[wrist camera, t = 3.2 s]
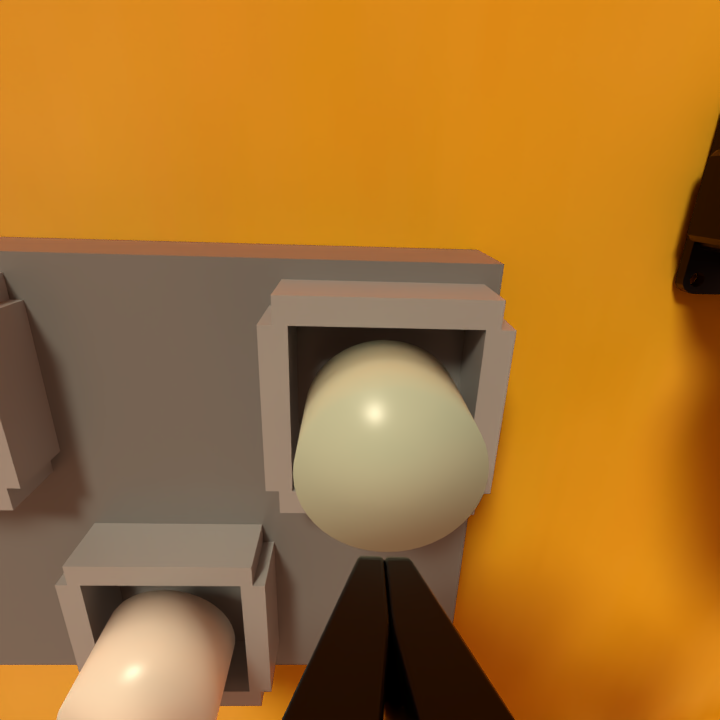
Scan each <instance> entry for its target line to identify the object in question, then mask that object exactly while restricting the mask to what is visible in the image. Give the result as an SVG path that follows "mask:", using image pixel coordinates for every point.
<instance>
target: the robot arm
mask: <svg viewBox="0 0 720 720" xmlns="http://www.w3.org/2000/svg"><path fill="white" fill-rule="evenodd" d="M695 273H696V274H697V276H696V279H695V281H694V282H693V283H692V284H690V279H691V277H692V276H693V275H694V274H695ZM675 283H676V286H677V287H678V288H679V289H680V290H682V291H685V292H688V293H692V294H720V122H719V125H718V129H717V133H716V136H715V140H714V143H713V147H712V150H711V154H710V157H709V158H708V161H707V164H706V168H705V171H704V175H703V179H702V182H701V186H700V189H699V193H698V196H697V200H696V204H695V207H694V211H693V214H692V218H691V221H690V225H689V229H688V236H687V239H686V243H685V246H684V250H683V254H682V257H681V261H680V264H679V268H678V271H677V275H676V281H675ZM383 719H384V720H515V719H514V718H513V716H512V714H511V713H510V711H509V710H508V708H507V707H506V705H505V704H504V702H503V701H502V699H501V697H500V696H499V694H498V693H497V691H496V690H495V688H494V687H493V685H492V684H491V682H490V680H489V679H488V677H487V676H486V674H485V673H484V671H483V670H482V668H481V667H480V665H479V664H478V662H477V660H476V659H475V657H474V656H473V654H472V653H471V651H470V650H469V648H468V647H467V645H466V643H465V642H464V640H463V639H462V637H461V636H460V634H459V633H458V631H457V630H456V628H455V627H454V625H453V623H452V622H451V620H450V619H449V617H448V616H447V614H446V613H445V611H444V610H443V608H442V606H441V605H440V603H439V602H438V600H437V599H436V597H435V596H434V594H433V593H432V591H431V590H430V588H429V586H428V585H427V583H426V582H425V580H424V579H423V577H422V576H421V574H420V573H419V571H418V569H417V568H416V566H415V565H414V563H413V562H412V560H411V559H409V558H408V557H386V558H385V560H384V559H383V558H382V557H380V556H360V557H359V558H358V559H357V560H356V562H355V565H354V567H353V569H352V571H351V573H350V575H349V577H348V580H347V582H346V584H345V586H344V588H343V590H342V592H341V594H340V597H339V599H338V601H337V603H336V605H335V607H334V609H333V612H332V614H331V616H330V618H329V620H328V622H327V624H326V626H325V629H324V631H323V633H322V635H321V637H320V639H319V641H318V644H317V646H316V648H315V650H314V652H313V654H312V656H311V658H310V661H309V663H308V665H307V667H306V669H305V671H304V673H303V676H302V678H301V680H300V682H299V684H298V686H297V688H296V690H295V693H294V695H293V697H292V699H291V701H290V703H289V705H288V708H287V710H286V712H285V714H284V716H283V718H282V720H383Z"/></svg>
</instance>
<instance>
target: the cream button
mask: <svg viewBox="0 0 720 720" xmlns="http://www.w3.org/2000/svg"><path fill="white" fill-rule="evenodd" d="M234 646H235V634H234V630H233V627H232V625H231V623H230V621H229V619H228V618H227V617H226V616H225V614H224V613H223V612H222V611H221V610H220V609H218V608H217V607H216V606H215V605H213V604H212V603H210V602H208V601H207V600H205V599H203V598H200V597H198V596H195V595H192V594H189V593H185V592H181V591H174V590H154V591H147V592H144V593H140V594H137V595H134V596H132V597H130V598H128V599H126V600H125V601H124V602H122V603H121V604H120V605H119V606H118V607H117V608H116V609H115V610H114V612H113V613H112V615H111V617H110V618H109V620H108V622H107V624H106V626H105V628H104V629H103V631H102V633H101V635H100V637H99V638H98V640H97V642H96V644H95V646H94V648H93V649H92V651H91V653H90V655H89V657H88V659H87V660H86V662H85V664H84V666H83V668H82V669H81V671H80V673H79V675H78V677H77V679H76V680H75V682H74V684H73V686H72V688H71V690H70V691H69V693H68V695H67V697H66V699H65V700H64V702H63V704H62V706H61V708H60V710H59V712H58V716H57V720H216V719H217V715H218V711H219V707H220V703H221V699H222V695H223V691H224V687H225V683H226V679H227V675H228V671H229V667H230V663H231V658H232V654H233V650H234Z"/></svg>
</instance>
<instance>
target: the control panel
mask: <svg viewBox="0 0 720 720" xmlns="http://www.w3.org/2000/svg"><path fill="white" fill-rule="evenodd" d="M503 268H504V264H502V263H501V262H499V261H497V260H495V259H493V258H491V257H490V256H488V255H486V254H484V253H482V252H480V251H479V250H463V249H426V248H389V247H353V246H316V245H279V244H242V243H205V242H169V241H132V240H95V239H58V238H21V237H0V665H77V666H78V669H79V673H80V671H81V669H82V668H83V666H84V664H85V662H86V660H87V659H88V657H89V655H90V653H91V651H92V649H93V648H94V646H95V644H96V642H97V640H98V638H99V637H100V635H101V633H102V631H103V629H104V628H105V626H106V624H107V622H108V620H109V618H110V617H111V615H112V613H113V612H114V610H115V609H116V608H117V607H118V606H119V605H120V604H121V603H122V602H124V601H125V600H126V599H128V598H130V597H132V596H134V595H137V594H140V593H144V592H147V591H154V590H174V591H181V592H185V593H189V594H192V595H195V596H198V597H200V598H203V599H205V600H207V601H208V602H210V603H212V604H213V605H215V606H216V607H217V608H218V609H220V610H221V611H222V612H223V613H224V614H225V616H226V617H227V618H228V619H229V621H230V623H231V625H232V627H233V630H234V634H235V646H234V650H233V654H232V658H231V663H230V667H229V671H228V675H227V679H226V683H225V687H224V691H223V695H222V699H221V703H220V706H262V700H263V694H264V692H271V690H272V684H273V677H274V671H275V665H308V663H309V661H310V658H311V656H312V654H313V652H314V650H315V648H316V646H317V644H318V641H319V639H320V637H321V635H322V633H323V631H324V629H325V626H326V624H327V622H328V620H329V618H330V616H331V614H332V612H333V609H334V607H335V605H336V603H337V601H338V599H339V597H340V594H341V592H342V590H343V588H344V586H345V584H346V582H347V580H348V577H349V575H350V573H351V571H352V569H353V567H354V565H355V562H356V560H357V559H358V558H359V557H360V556H380V557H382V558H383V559H384V560H385V558H386V557H408V558H409V559H411V560H412V562H413V563H414V565H415V566H416V568H417V569H418V571H419V573H420V574H421V576H422V577H423V579H424V580H425V582H426V583H427V585H428V586H429V588H430V590H431V591H432V593H433V594H434V596H435V597H436V599H437V600H438V602H439V603H440V605H441V606H442V608H443V610H444V611H445V613H446V614H447V616H448V617H449V619H450V620H451V622H452V623H453V618H454V611H455V604H456V597H457V590H458V583H459V576H460V569H461V562H462V555H463V548H464V541H465V534H466V527H467V520H468V518H467V519H466V520H465V521H464V522H463V524H461V525H460V526H459V527H458V528H457V529H455V530H454V531H453V532H451V533H450V534H448V535H447V536H445V537H443V538H441V539H439V540H437V541H435V542H433V543H431V544H428V545H425V546H423V547H419V548H415V549H411V550H405V551H399V552H376V551H369V550H363V549H359V548H356V547H352V546H349V545H347V544H344V543H342V542H340V541H338V540H336V539H334V538H332V537H331V536H329V535H328V534H326V533H325V532H324V531H322V530H321V529H320V528H319V527H318V526H317V525H316V524H314V523H313V521H312V520H311V519H310V518H309V517H308V515H307V514H306V512H305V511H304V509H303V508H302V506H301V504H300V502H299V499H298V497H297V494H296V491H295V487H294V479H293V465H294V459H295V454H296V449H297V444H298V439H299V434H300V429H301V424H302V419H303V414H304V408H305V403H306V399H307V394H308V391H309V388H310V385H311V383H312V381H313V380H314V378H315V376H316V375H317V373H318V372H319V371H320V369H321V368H322V367H323V366H324V365H325V364H326V363H327V362H328V361H329V360H330V359H331V358H333V357H334V356H335V355H337V354H338V353H340V352H342V351H343V350H345V349H347V348H349V347H352V346H354V345H357V344H360V343H364V342H369V341H375V340H393V341H400V342H405V343H409V344H411V345H414V346H417V347H419V348H421V349H423V350H425V351H427V352H428V353H430V354H431V355H433V356H434V357H435V358H436V359H437V360H438V361H440V362H441V363H442V364H443V366H444V367H445V368H446V369H447V371H448V372H449V374H450V375H451V377H452V379H453V381H454V383H455V384H456V386H457V388H458V390H459V392H460V394H461V396H462V398H463V400H464V402H465V404H466V406H467V408H468V410H469V411H470V413H471V415H472V417H473V419H474V421H475V423H476V425H477V427H478V429H479V431H480V433H481V435H482V437H483V439H484V442H485V444H486V448H487V452H488V459H489V474H488V480H487V484H486V488H485V491H484V493H483V494H490V492H491V486H492V480H493V473H494V467H495V461H496V455H497V448H498V442H499V436H500V430H501V424H502V417H503V411H504V405H505V399H506V393H507V386H508V380H509V374H510V368H511V361H512V355H513V349H514V343H515V337H516V330H515V329H514V328H513V327H512V326H511V325H510V324H508V323H507V322H506V321H505V320H504V319H503V316H504V309H505V303H506V300H504V299H503V298H502V297H500V289H501V282H502V275H503ZM474 512H475V510H474V511H473V512H472V514H471V515H474Z"/></svg>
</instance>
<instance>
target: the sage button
mask: <svg viewBox="0 0 720 720" xmlns="http://www.w3.org/2000/svg"><path fill="white" fill-rule="evenodd" d="M488 474H489V459H488V452H487V448H486V444H485V442H484V439H483V437H482V435H481V433H480V431H479V429H478V427H477V425H476V423H475V421H474V419H473V417H472V415H471V413H470V411H469V410H468V408H467V406H466V404H465V402H464V400H463V398H462V396H461V394H460V392H459V390H458V388H457V386H456V384H455V383H454V381H453V379H452V377H451V375H450V374H449V372H448V371H447V369H446V368H445V367H444V366H443V364H442V363H441V362H440V361H438V360H437V359H436V358H435V357H434V356H433V355H431V354H430V353H428V352H427V351H425V350H423V349H421V348H419V347H417V346H414V345H411V344H409V343H405V342H400V341H393V340H375V341H369V342H364V343H360V344H357V345H354V346H352V347H349V348H347V349H345V350H343V351H342V352H340V353H338V354H337V355H335V356H334V357H333V358H331V359H330V360H329V361H328V362H327V363H326V364H325V365H324V366H323V367H322V368H321V369H320V371H319V372H318V373H317V375H316V376H315V378H314V380H313V381H312V383H311V385H310V388H309V391H308V394H307V399H306V403H305V408H304V414H303V419H302V424H301V429H300V434H299V439H298V444H297V449H296V454H295V459H294V465H293V479H294V487H295V491H296V494H297V497H298V499H299V502H300V504H301V506H302V508H303V509H304V511H305V512H306V514H307V515H308V517H309V518H310V519H311V520H312V521H313V523H314V524H316V525H317V526H318V527H319V528H320V529H321V530H322V531H324V532H325V533H326V534H328V535H329V536H331V537H332V538H334V539H336V540H338V541H340V542H342V543H344V544H347V545H349V546H352V547H356V548H359V549H363V550H369V551H376V552H399V551H405V550H411V549H415V548H419V547H423V546H425V545H428V544H431V543H433V542H435V541H437V540H439V539H441V538H443V537H445V536H447V535H448V534H450V533H451V532H453V531H454V530H455V529H457V528H458V527H459V526H460V525H461V524H463V522H464V521H465V520H466V519H467V518H468V517H469V516H470V515H471V514H472V512H473V511H474V510H475V508H476V507H477V505H478V504H479V502H480V500H481V498H482V496H483V493H484V491H485V488H486V484H487V480H488Z"/></svg>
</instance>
